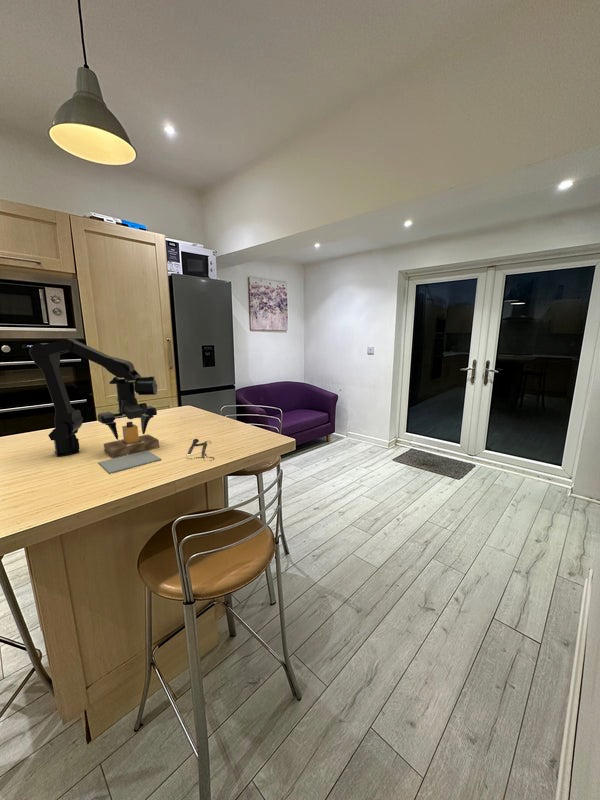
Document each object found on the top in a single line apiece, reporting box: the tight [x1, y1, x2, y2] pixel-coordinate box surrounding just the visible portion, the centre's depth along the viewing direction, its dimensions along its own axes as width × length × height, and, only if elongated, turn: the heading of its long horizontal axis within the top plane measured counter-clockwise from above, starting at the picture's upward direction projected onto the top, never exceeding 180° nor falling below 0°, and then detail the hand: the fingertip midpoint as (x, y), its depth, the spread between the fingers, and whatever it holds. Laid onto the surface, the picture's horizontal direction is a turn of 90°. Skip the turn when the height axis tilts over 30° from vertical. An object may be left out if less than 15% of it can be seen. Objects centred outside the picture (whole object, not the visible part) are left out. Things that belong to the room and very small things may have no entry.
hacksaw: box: [187, 438, 215, 462], centre depth 120 cm, size 24×10×2 cm, turn 10°
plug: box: [122, 421, 140, 445], centre depth 120 cm, size 4×4×10 cm
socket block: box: [103, 434, 160, 459], centre depth 121 cm, size 16×10×3 cm, turn 136°
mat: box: [97, 450, 162, 475], centre depth 109 cm, size 16×12×1 cm
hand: (130, 436), depth 120 cm, fingers open, 9 cm apart
